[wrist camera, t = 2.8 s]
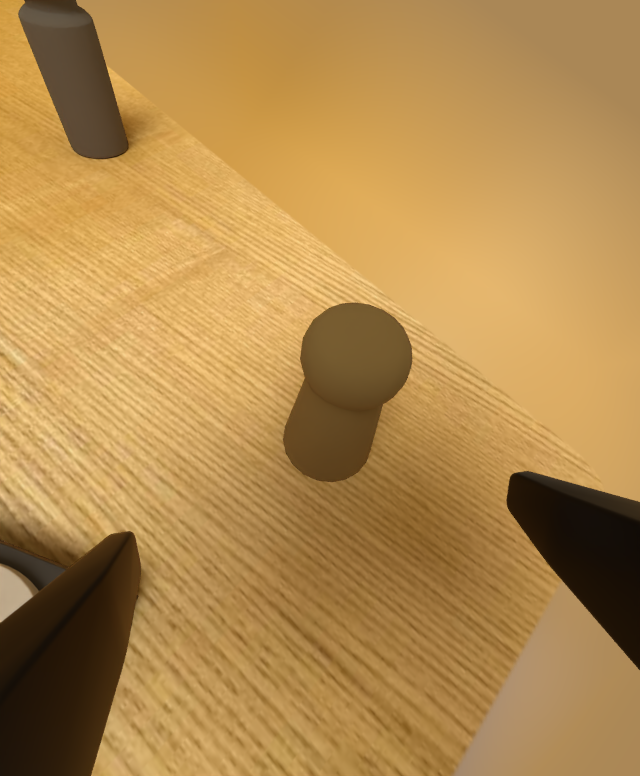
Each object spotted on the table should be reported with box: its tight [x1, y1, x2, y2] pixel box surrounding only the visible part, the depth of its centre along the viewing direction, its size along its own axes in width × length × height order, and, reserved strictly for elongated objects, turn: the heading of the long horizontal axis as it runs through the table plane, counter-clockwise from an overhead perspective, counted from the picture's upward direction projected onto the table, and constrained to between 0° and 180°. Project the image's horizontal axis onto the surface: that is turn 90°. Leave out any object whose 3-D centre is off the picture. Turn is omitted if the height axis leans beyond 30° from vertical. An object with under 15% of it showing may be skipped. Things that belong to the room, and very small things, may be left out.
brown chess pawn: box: [283, 303, 412, 482], centre depth 20 cm, size 6×6×11 cm
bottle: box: [18, 0, 128, 158], centre depth 35 cm, size 6×6×15 cm
